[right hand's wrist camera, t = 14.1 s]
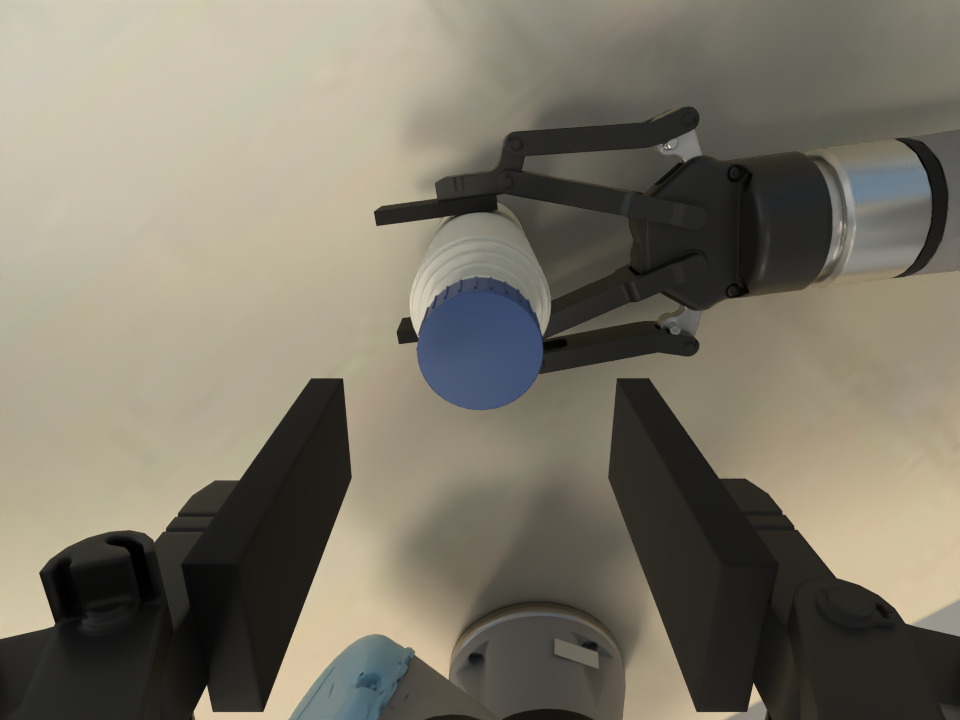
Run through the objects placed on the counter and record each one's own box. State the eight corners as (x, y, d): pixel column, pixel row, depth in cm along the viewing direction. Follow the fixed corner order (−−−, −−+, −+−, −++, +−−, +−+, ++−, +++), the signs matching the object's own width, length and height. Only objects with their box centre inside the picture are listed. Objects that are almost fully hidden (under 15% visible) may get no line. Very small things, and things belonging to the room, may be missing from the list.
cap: (563, 319, 21) (571, 338, 19) (493, 407, 23) (495, 433, 21) (465, 251, 21) (464, 263, 19) (399, 346, 22) (390, 368, 20)
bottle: (542, 233, 39) (605, 329, 20) (490, 304, 41) (500, 457, 21) (469, 179, 38) (457, 223, 18) (418, 254, 40) (358, 369, 20)
